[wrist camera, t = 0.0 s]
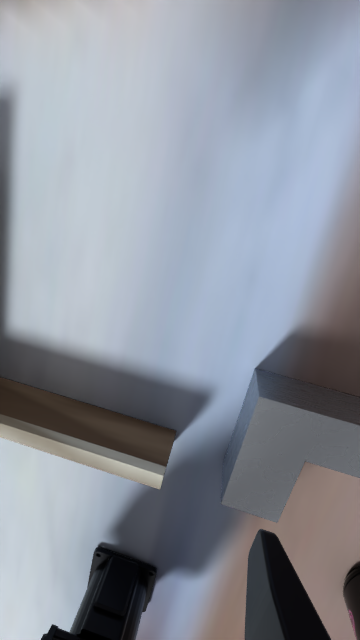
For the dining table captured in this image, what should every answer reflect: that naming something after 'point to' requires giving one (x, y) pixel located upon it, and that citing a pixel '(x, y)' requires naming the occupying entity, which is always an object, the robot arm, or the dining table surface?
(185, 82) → the dining table surface
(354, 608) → the supplement container
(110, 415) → the tan l-shaped wall
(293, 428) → the bracket
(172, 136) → the dining table surface
